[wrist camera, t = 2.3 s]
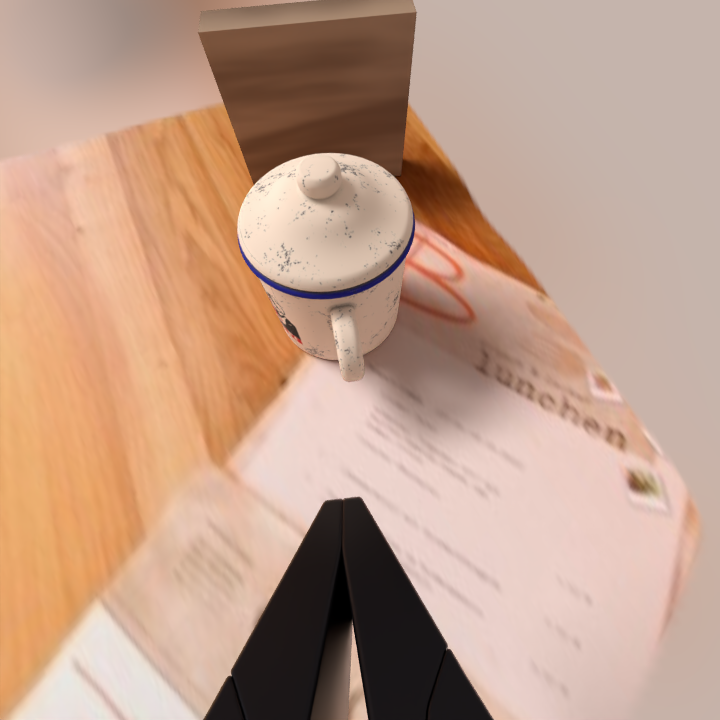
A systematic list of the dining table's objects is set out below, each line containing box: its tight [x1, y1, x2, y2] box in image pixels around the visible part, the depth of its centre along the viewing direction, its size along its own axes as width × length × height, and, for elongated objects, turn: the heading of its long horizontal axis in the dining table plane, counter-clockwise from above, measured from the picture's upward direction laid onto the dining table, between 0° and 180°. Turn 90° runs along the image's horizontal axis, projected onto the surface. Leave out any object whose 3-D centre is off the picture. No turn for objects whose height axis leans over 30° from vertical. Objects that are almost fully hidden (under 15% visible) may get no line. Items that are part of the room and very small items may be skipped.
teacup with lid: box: [238, 153, 415, 382], centre depth 19 cm, size 12×9×12 cm
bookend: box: [198, 0, 416, 185], centre depth 26 cm, size 2×13×11 cm, turn 96°
